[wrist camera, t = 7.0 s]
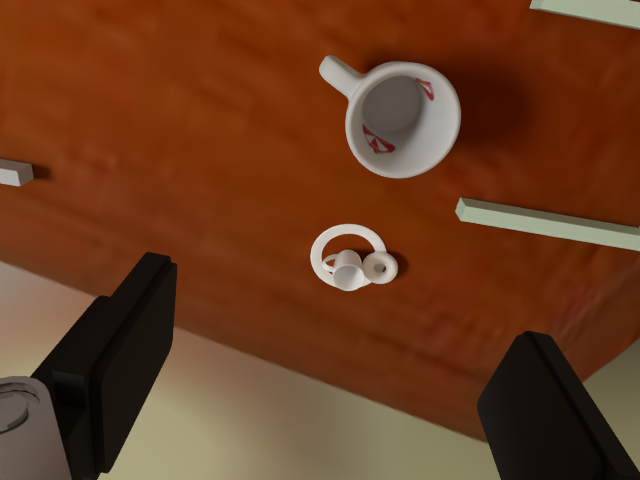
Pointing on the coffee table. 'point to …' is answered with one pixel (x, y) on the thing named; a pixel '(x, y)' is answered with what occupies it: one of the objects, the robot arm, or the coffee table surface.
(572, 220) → the mint green u-frame
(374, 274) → the white curved piece
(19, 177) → the grey u-frame
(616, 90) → the coffee table surface
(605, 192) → the coffee table surface
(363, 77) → the cup
